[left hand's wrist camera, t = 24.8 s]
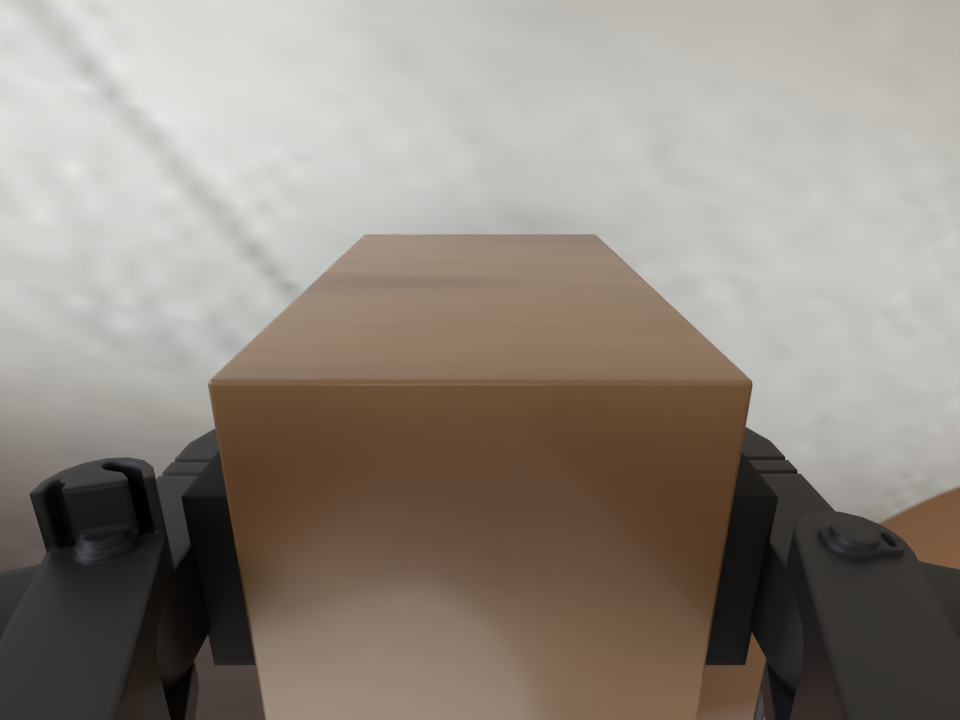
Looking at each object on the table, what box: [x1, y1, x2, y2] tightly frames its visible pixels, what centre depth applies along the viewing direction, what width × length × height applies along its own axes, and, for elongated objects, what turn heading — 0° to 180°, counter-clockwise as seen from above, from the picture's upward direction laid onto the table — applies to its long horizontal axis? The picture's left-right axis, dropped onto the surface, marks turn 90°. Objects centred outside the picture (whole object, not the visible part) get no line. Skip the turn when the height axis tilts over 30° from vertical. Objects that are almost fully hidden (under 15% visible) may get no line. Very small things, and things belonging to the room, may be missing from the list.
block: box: [208, 235, 752, 720], centre depth 12 cm, size 6×6×10 cm
